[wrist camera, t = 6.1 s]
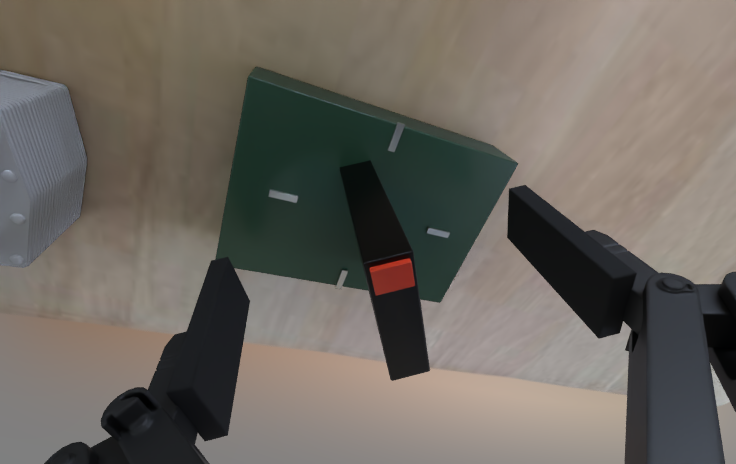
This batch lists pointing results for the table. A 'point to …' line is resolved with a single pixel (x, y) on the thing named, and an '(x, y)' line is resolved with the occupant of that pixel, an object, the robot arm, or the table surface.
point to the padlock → (37, 166)
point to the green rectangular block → (326, 191)
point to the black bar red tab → (387, 271)
